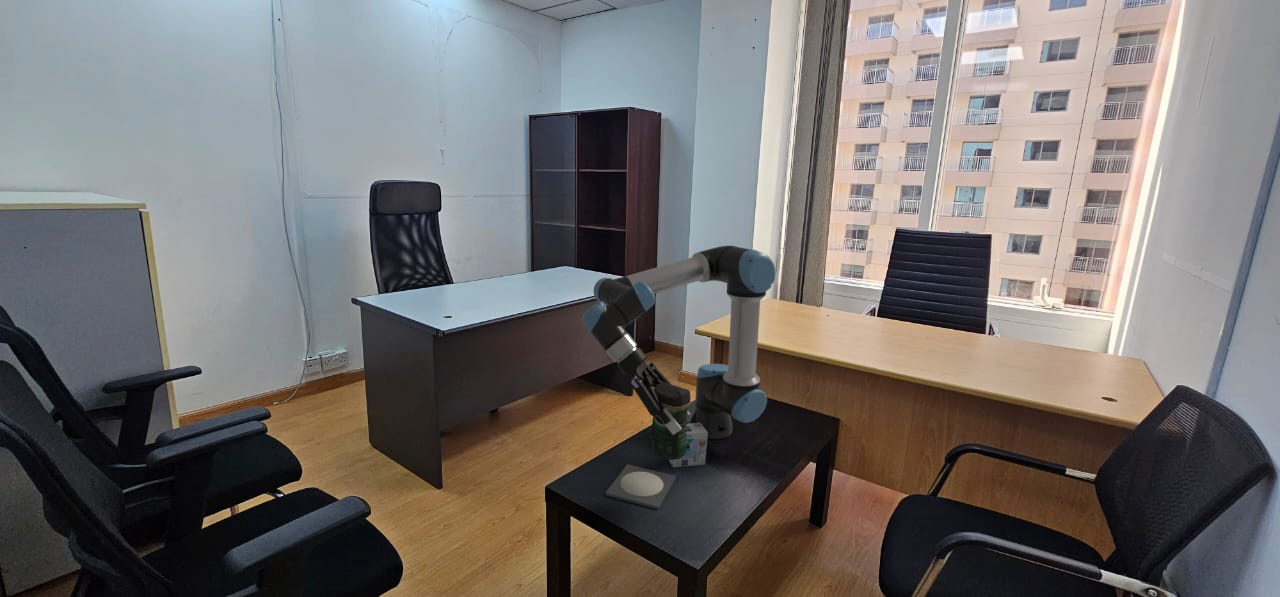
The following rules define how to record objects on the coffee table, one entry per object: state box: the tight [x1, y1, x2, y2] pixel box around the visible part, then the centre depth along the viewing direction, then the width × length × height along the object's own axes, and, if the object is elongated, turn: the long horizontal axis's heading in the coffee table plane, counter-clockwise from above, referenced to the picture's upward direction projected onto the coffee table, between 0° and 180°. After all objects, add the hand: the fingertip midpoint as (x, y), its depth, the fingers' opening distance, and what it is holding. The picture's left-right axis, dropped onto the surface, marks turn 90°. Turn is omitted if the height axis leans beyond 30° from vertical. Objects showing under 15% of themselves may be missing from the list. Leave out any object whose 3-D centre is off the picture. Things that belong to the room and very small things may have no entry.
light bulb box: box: [668, 423, 708, 468], centre depth 161 cm, size 11×7×11 cm, turn 105°
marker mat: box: [605, 464, 677, 510], centre depth 147 cm, size 16×15×1 cm
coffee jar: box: [648, 382, 691, 460], centre depth 137 cm, size 10×8×19 cm
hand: (682, 424), depth 136 cm, fingers closed on coffee jar, 8 cm apart
